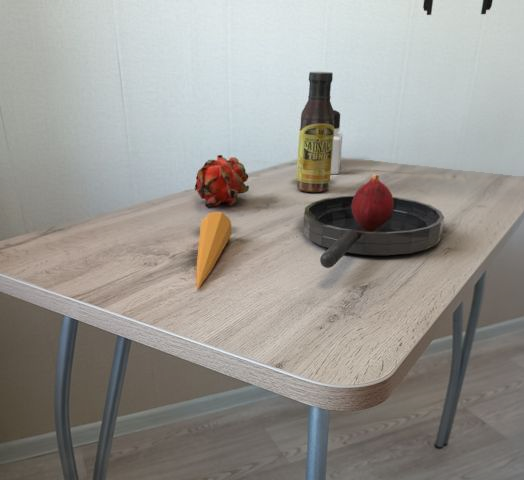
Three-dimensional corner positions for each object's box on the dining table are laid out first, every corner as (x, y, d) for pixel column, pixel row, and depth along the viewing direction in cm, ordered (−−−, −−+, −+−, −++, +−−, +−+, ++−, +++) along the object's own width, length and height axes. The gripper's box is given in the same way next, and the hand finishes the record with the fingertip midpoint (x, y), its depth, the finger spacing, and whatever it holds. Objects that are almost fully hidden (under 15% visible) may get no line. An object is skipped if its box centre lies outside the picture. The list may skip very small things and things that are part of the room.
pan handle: (345, 240, 71) (346, 227, 70) (359, 242, 70) (360, 228, 69) (317, 268, 62) (318, 253, 62) (332, 271, 62) (333, 255, 61)
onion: (395, 237, 77) (402, 178, 73) (354, 238, 76) (359, 179, 72) (384, 225, 82) (390, 169, 78) (346, 226, 81) (350, 170, 77)
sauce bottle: (300, 194, 100) (303, 73, 91) (293, 186, 106) (295, 71, 96) (334, 193, 101) (342, 72, 92) (326, 185, 107) (332, 70, 97)
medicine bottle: (340, 167, 121) (344, 108, 115) (338, 174, 115) (342, 112, 109) (308, 166, 122) (310, 108, 116) (304, 173, 116) (306, 112, 110)
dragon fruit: (245, 204, 101) (210, 231, 92) (209, 173, 101) (171, 198, 92) (266, 169, 95) (231, 195, 86) (229, 136, 94) (190, 159, 86)
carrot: (211, 241, 80) (196, 213, 78) (239, 230, 79) (225, 202, 76) (188, 313, 64) (169, 281, 61) (223, 301, 62) (205, 267, 60)
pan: (449, 225, 83) (452, 202, 82) (426, 268, 68) (430, 240, 66) (328, 212, 90) (329, 190, 89) (283, 247, 75) (283, 222, 73)
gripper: (423, -115, 81) (410, 14, 89) (528, -122, 77) (504, 13, 85) (425, -104, 87) (412, 16, 95) (522, -111, 84) (500, 14, 92)
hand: (455, 14), depth 90 cm, fingers open, 8 cm apart
